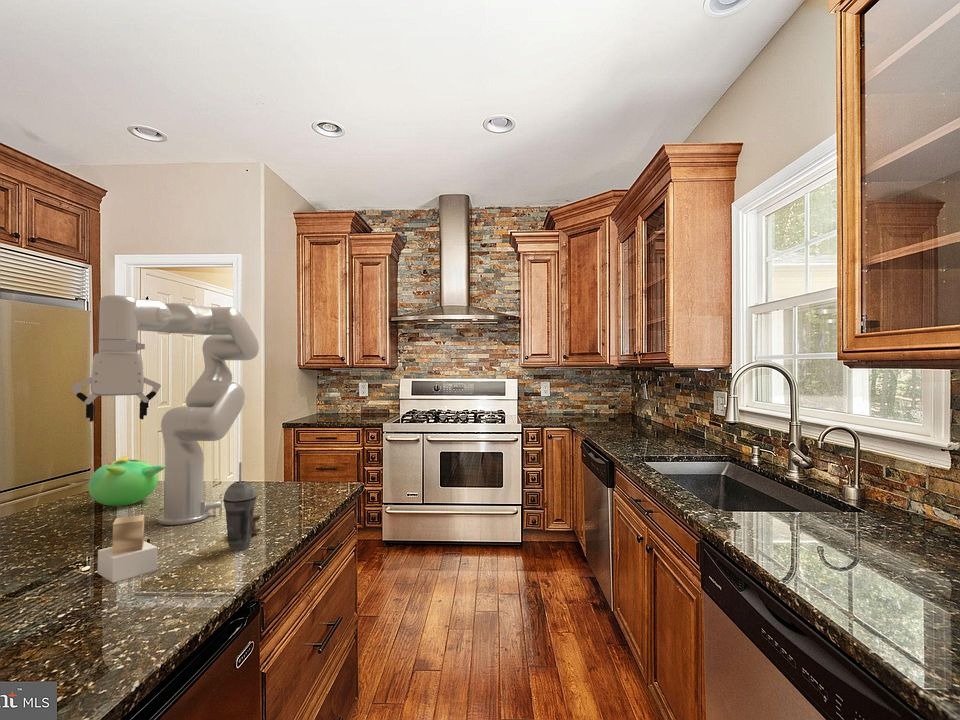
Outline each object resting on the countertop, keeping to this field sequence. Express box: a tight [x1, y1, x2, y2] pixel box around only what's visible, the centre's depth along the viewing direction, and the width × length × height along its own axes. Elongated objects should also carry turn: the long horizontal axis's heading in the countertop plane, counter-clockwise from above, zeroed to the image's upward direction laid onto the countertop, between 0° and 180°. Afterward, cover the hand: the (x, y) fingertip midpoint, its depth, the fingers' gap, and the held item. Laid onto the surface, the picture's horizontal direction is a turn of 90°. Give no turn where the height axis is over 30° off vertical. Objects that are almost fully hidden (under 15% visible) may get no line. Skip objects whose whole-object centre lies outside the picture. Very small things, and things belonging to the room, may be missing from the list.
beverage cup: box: [222, 461, 258, 551], centre depth 121 cm, size 7×7×20 cm
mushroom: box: [251, 512, 261, 536], centre depth 129 cm, size 8×8×6 cm
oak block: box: [112, 514, 145, 554], centre depth 106 cm, size 5×5×6 cm
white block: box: [97, 540, 158, 583], centre depth 106 cm, size 8×8×5 cm
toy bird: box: [87, 455, 165, 507], centre depth 158 cm, size 18×17×15 cm
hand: (117, 420), depth 120 cm, fingers open, 9 cm apart
